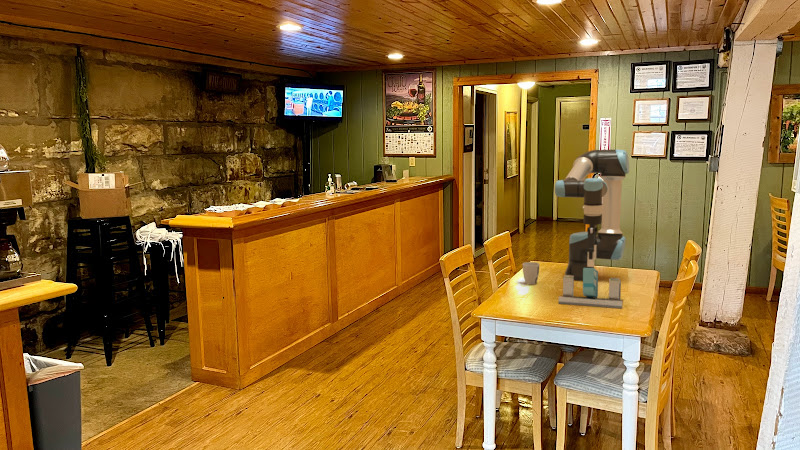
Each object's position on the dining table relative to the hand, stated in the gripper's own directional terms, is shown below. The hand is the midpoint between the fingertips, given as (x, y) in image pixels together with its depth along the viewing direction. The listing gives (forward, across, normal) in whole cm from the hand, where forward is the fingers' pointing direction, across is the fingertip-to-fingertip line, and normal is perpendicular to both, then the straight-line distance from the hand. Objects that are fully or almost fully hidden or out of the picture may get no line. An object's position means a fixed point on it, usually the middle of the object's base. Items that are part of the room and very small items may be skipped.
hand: (591, 262), depth 262 cm
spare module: (+18, -6, +10) cm, 21 cm away
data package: (+15, 0, 0) cm, 15 cm away
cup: (+18, -24, -30) cm, 43 cm away
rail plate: (+17, +2, 0) cm, 18 cm away
